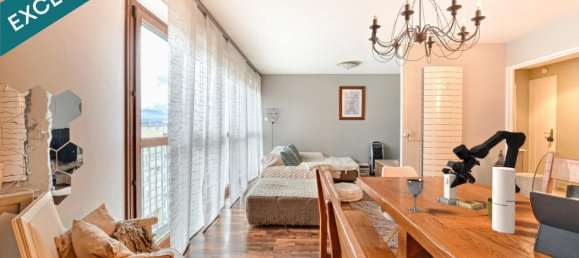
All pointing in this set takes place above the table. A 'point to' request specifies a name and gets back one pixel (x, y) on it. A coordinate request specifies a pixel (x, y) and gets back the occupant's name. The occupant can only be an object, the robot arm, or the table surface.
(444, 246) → the table surface
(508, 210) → the cylindrical container
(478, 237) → the table surface
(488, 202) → the flower pot
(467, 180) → the robot arm
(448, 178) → the plug
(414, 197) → the wine glass
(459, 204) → the port console
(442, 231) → the table surface
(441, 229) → the table surface
